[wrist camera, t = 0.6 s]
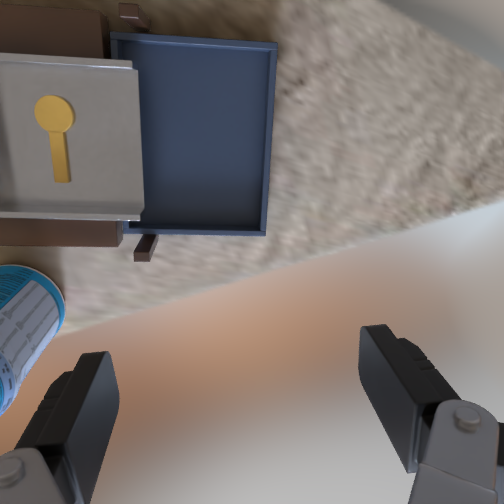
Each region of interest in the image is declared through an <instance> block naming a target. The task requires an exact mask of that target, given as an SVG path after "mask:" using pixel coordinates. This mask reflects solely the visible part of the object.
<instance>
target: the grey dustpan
mask: <svg viewBox="0 0 504 504" xmlns="http://www.w3.org/2000/svg"><path fill="white" fill-rule="evenodd" d="M46 95H56V96H59V97H61V98H63V99H65V100H66V101H67V102H68V103H69V104H70V106H71V108H72V110H73V113H74V121H73V124H72V126H71V127H70V129H68V130H67V131H65V132H64V134H65V143H66V152H67V161H68V169H69V178H70V182H69V183H55V180H54V172H53V164H52V156H51V148H50V140H49V132H48V131H46V130H45V129H43V128H42V127H41V126H40V125H39V124H38V122H37V120H36V118H35V114H34V108H35V105H36V103H37V101H38V100H39V99H40V98H41V97H43V96H46ZM145 213H146V208H145V187H144V165H143V144H142V122H141V101H140V80H139V64H138V63H136V62H134V61H132V60H117V59H100V58H83V57H67V56H50V55H34V54H17V53H1V52H0V218H27V219H73V220H119V221H141V219H142V217H143V216H144V214H145Z"/></svg>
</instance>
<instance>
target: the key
mask: <svg viewBox="0 0 504 504" xmlns="http://www.w3.org/2000/svg"><path fill="white" fill-rule="evenodd" d="M34 114H35V118H36V120H37V122H38V124H39V125H40V126H41V127H42V128H43V129H45V130H46V131H48V132H49V140H50V148H51V156H52V164H53V172H54V180H55V183H69V182H70V178H69V169H68V161H67V152H66V143H65V134H64V132H65V131H67V130H68V129H70V127H71V126H72V124H73V121H74V113H73V110H72V108H71V106H70V104H69V103H68V102H67V101H66V100H65V99H63V98H61V97H59V96H56V95H46V96H43V97H41V98H40V99H39V100H38V101H37V103H36V105H35V108H34Z"/></svg>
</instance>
